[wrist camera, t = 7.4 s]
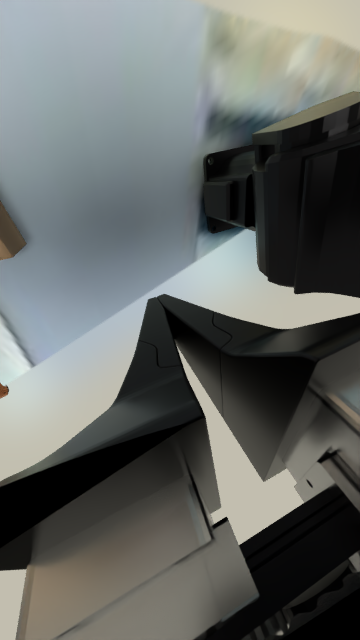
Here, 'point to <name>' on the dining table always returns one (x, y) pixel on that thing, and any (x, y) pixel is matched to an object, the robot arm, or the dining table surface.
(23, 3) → the dining table surface
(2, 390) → the sunglasses case
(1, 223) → the walnut block
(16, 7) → the dining table surface
